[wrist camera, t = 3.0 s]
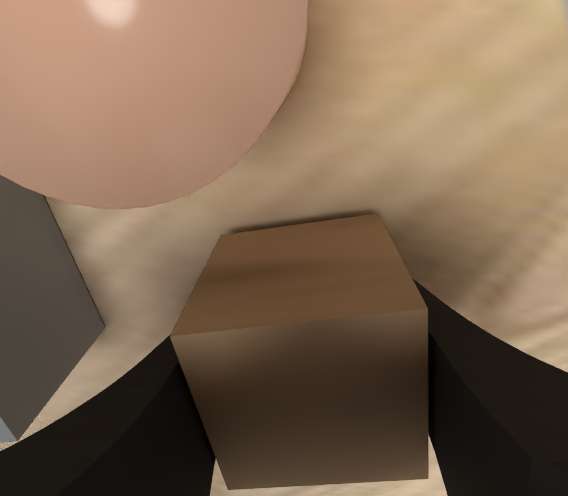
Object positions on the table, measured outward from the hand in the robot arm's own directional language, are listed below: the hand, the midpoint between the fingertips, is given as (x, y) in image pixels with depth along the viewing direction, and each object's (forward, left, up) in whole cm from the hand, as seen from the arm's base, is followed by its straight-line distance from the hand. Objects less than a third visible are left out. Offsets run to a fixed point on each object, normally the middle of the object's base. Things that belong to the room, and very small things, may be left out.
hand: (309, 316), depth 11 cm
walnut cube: (0, 0, -1) cm, 1 cm away
